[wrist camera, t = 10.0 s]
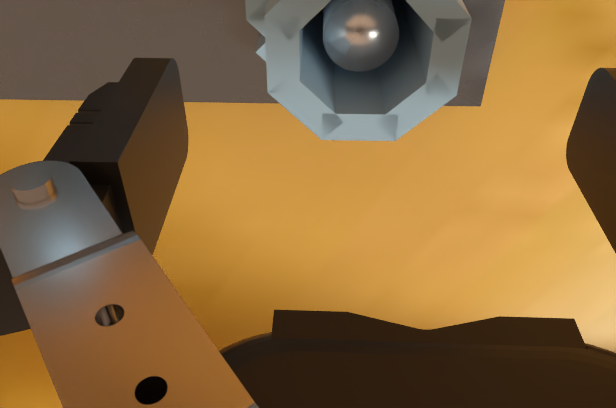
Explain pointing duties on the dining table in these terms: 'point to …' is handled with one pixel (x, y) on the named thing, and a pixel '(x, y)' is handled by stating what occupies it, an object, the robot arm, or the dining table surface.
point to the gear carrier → (199, 45)
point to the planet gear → (367, 84)
